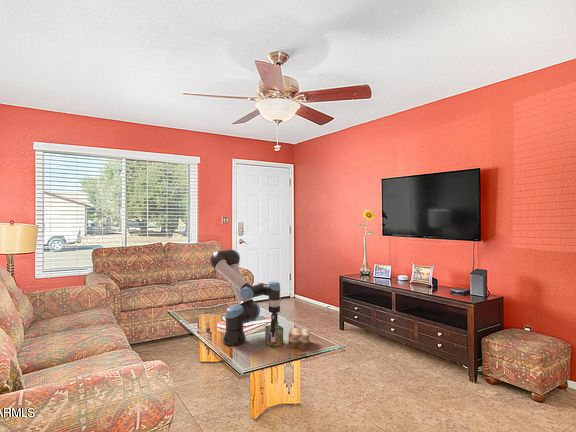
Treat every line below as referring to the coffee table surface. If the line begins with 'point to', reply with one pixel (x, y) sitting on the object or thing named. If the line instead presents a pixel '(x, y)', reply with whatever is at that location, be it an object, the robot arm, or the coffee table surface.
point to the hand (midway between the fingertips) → (274, 337)
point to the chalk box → (277, 335)
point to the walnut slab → (298, 345)
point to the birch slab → (299, 335)
